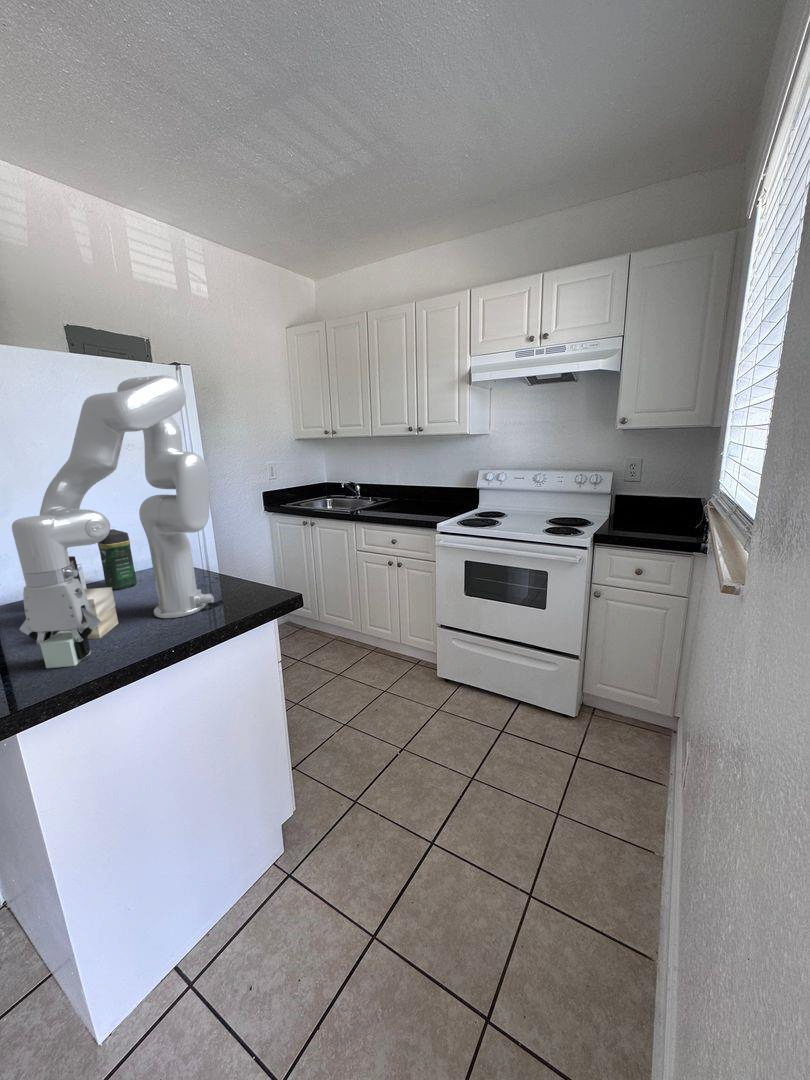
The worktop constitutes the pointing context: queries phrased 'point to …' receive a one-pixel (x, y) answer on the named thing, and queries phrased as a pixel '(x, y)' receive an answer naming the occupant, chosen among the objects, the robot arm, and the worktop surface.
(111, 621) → the birch base block
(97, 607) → the maple top block
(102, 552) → the coffee jar
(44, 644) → the sage block
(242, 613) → the worktop surface
